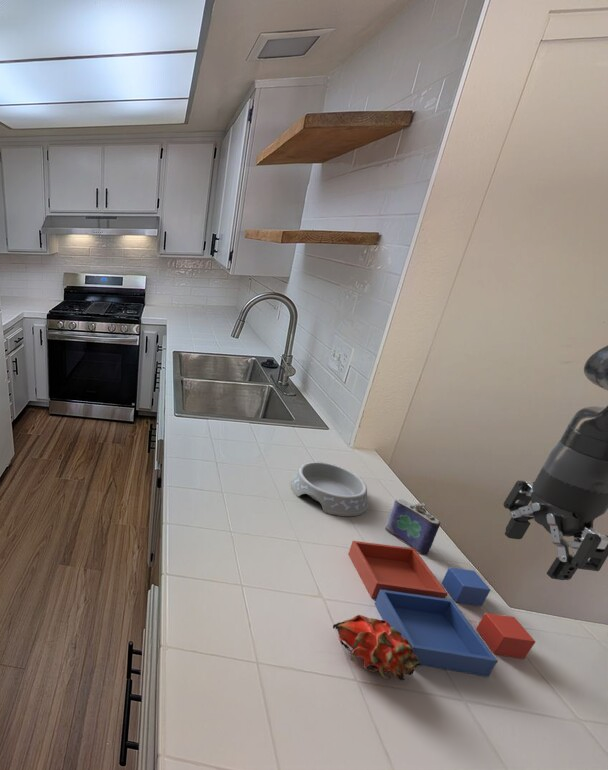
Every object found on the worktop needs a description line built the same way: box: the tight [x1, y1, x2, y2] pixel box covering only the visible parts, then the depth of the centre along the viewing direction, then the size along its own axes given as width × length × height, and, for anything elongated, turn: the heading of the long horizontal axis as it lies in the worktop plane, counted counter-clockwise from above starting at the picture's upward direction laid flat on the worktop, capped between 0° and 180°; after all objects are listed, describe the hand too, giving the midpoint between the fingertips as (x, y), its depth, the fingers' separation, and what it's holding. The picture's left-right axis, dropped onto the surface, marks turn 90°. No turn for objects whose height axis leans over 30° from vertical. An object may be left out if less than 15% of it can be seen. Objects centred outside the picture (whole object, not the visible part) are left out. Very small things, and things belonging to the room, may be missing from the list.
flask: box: [384, 498, 441, 556], centre depth 88 cm, size 9×3×11 cm, turn 21°
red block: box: [475, 612, 536, 660], centre depth 67 cm, size 4×4×4 cm
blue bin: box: [374, 589, 498, 678], centre depth 68 cm, size 12×11×4 cm
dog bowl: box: [290, 461, 368, 517], centre depth 105 cm, size 17×18×5 cm
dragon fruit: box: [332, 614, 421, 681], centre depth 65 cm, size 8×8×12 cm
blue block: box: [441, 567, 491, 607], centre depth 76 cm, size 4×4×4 cm
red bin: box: [347, 540, 448, 599], centre depth 80 cm, size 12×11×4 cm
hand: (532, 556), depth 64 cm, fingers open, 8 cm apart
